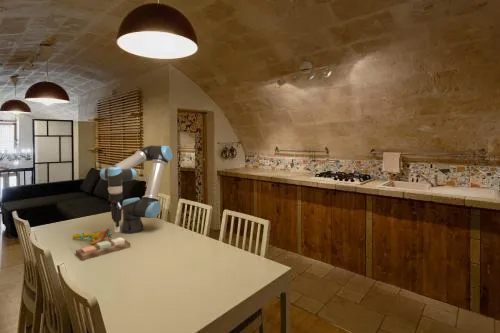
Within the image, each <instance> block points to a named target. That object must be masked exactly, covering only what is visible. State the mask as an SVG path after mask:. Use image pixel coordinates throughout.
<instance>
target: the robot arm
mask: <svg viewBox="0 0 500 333" xmlns="http://www.w3.org/2000/svg"><path fill="white" fill-rule="evenodd" d="M173 158H174V157H173V151H172V148H171V147H170V146H169V145H148V146H145V147H142V148H140V149H138V150H136V151H135V153H134V154H132V155H130V156H129V157H126V158H124V159H123V160H122V161H119V162H117V163H116V164H114V165H113V166H109V167H106V168H102V169H101V170H100V172H99V177H100V179H102V180H104V181H107V184H108V186H107V187H108V188H107V191H108V201H111V202H110V203H109V207H110V213H111V219H112V222H113V232H114V233H119V232H121V233H122V234H126V235H127V234H128V235H129V234H130V235H131V234H136V233H140V232H142V231H144V229H145V228H144V227H145V226H144V223H143V221H142V219H141V218H146V219H154V218H156V217H157V216H159V214H160V212H161V208H162V206H161V205H162V204H161V202H159V201H160V199H159V198H158V196H159V193H160V188H161V183H162V179H163V176H164V175H163V174H164V170H165V168H166V166H168V163H169V162H171V161H172V160H173ZM145 162H151V163H152V165H151V169H150V174H149V178H148V181H147V186H146V190H145V193H144V195H143V196H141V198H140V197H131V198H127V199H124V200H123V182H130V181H134V180H135V179H137V171H136V170H135V169H134V168H135V167H136V166H137V165H139V164H141V163H142V164H143V163H145ZM121 200H123V201H122V203H121ZM120 221H122V223H121V226H120Z"/></svg>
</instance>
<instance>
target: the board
mask: <svg viewBox="0 0 500 333" xmlns="http://www.w3.org/2000/svg"><path fill="white" fill-rule="evenodd" d="M109 242H110V243H111V240H110V241H109ZM94 247H95V248H96V251H92V252H89V253H85V254H84V253H83V252H82V251H81V248H79V249H78V248H77V249H75V255H76V256H77V257H78V258H79V259H80V260H81V261H86V259H87V260H90V259H93V258H96V257H101V256H104V255H108V254H112V253H115V252H119V251H123V250H125V249H130V248H131V242H129V241H128V240H126V239H125V243H123V244H119V245H115V246H114V245H112V244H111V247H108V248H104V249H98V248H97V246H96V245H94Z"/></svg>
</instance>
